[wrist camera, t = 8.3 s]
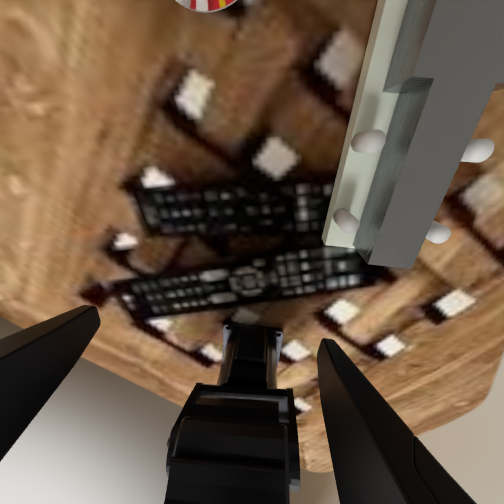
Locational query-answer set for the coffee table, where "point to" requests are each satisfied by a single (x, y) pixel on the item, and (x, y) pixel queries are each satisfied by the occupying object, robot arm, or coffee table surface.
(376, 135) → the rack
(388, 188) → the grey t-shaped plate
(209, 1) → the soda can
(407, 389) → the coffee table surface
